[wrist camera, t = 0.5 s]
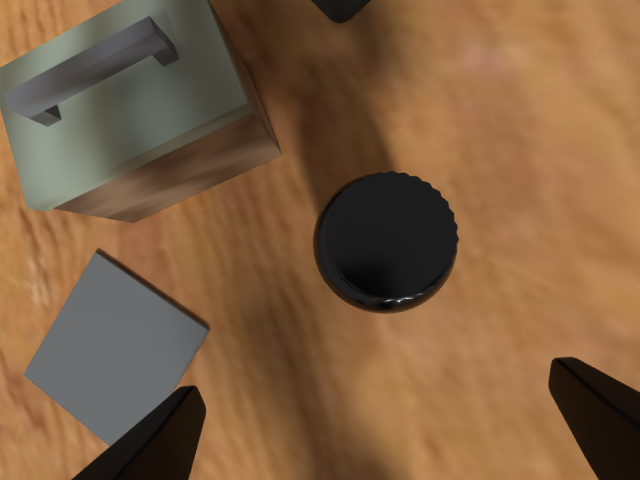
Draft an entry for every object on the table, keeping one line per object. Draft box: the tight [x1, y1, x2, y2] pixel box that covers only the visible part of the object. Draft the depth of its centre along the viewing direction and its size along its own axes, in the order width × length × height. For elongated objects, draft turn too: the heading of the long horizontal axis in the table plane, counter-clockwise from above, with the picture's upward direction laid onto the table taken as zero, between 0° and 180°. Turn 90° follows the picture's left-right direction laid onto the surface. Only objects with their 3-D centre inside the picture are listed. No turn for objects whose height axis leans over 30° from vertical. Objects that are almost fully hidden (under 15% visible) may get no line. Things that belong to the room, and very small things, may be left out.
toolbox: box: [0, 0, 282, 223], centre depth 20 cm, size 14×10×10 cm
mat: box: [23, 252, 210, 446], centre depth 24 cm, size 12×12×1 cm
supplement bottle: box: [313, 171, 459, 314], centre depth 16 cm, size 7×7×12 cm
